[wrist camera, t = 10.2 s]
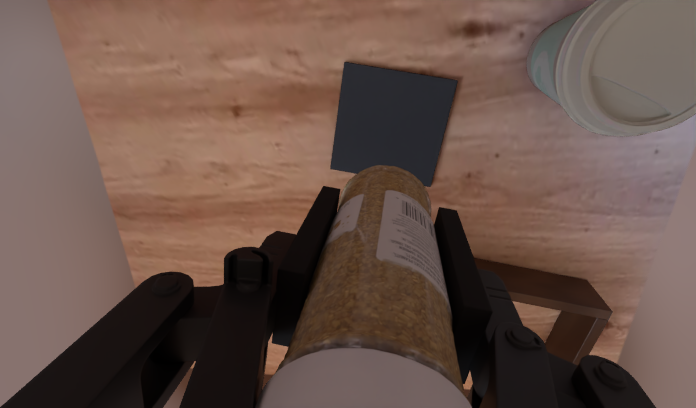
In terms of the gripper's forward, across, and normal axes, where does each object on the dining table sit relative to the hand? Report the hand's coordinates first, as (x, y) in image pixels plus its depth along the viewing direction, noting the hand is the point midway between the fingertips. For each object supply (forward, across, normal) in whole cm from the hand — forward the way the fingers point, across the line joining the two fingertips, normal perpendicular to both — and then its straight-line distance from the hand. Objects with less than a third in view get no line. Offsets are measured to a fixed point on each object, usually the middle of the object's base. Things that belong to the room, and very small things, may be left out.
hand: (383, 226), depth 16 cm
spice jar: (+2, 0, 0) cm, 2 cm away
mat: (+20, 0, 0) cm, 20 cm away
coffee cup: (+20, +13, +8) cm, 25 cm away
